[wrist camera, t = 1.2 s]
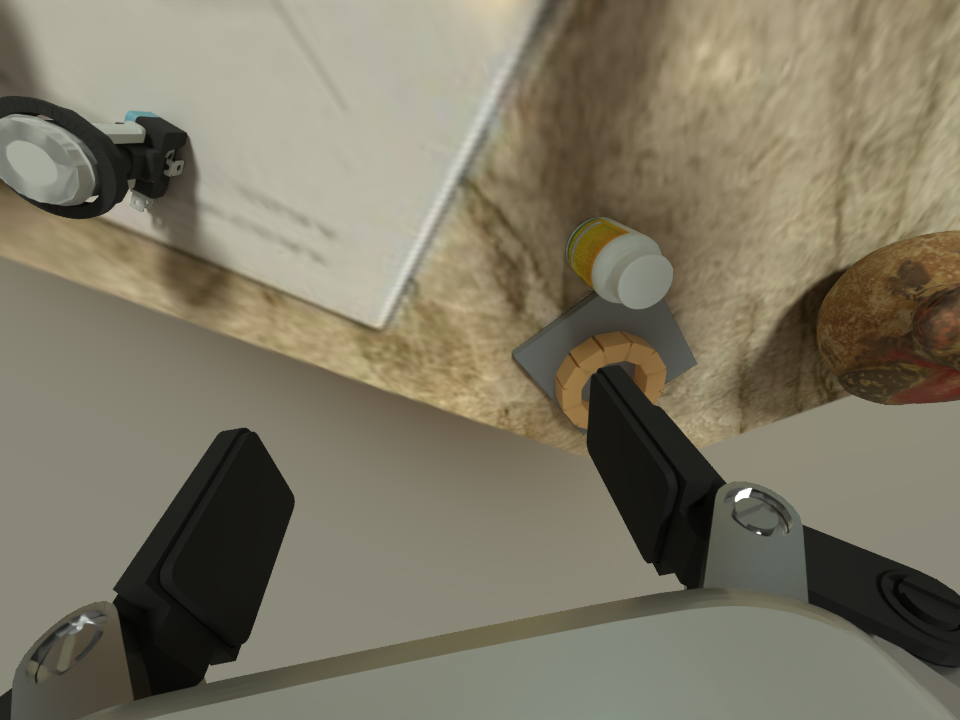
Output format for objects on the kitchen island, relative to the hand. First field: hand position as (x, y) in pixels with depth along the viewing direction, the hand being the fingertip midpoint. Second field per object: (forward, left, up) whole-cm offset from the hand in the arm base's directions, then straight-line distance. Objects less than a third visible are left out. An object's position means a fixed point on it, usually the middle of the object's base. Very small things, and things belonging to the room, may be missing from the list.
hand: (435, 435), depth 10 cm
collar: (-5, +23, -24) cm, 34 cm away
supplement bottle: (-11, +10, -25) cm, 29 cm away
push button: (+11, -16, -25) cm, 31 cm away
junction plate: (-6, +22, -24) cm, 33 cm away
